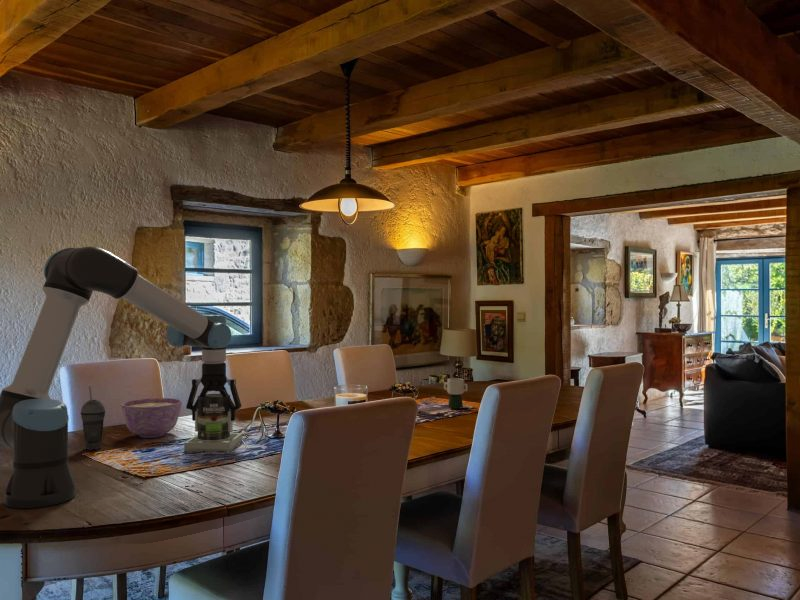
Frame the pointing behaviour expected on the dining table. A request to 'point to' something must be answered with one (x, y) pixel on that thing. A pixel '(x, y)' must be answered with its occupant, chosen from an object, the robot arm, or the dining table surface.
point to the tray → (212, 444)
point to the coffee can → (213, 418)
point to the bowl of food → (151, 416)
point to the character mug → (455, 391)
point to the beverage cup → (92, 422)
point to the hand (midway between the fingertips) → (213, 430)
